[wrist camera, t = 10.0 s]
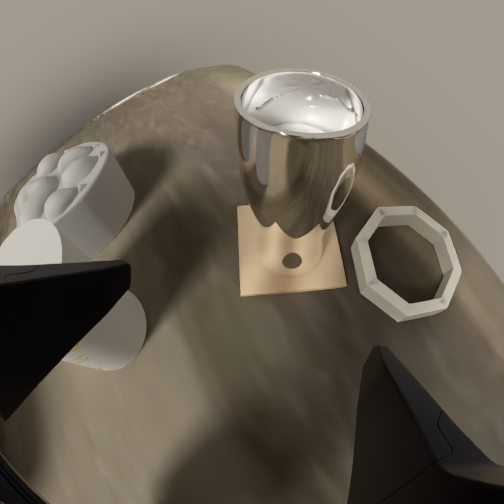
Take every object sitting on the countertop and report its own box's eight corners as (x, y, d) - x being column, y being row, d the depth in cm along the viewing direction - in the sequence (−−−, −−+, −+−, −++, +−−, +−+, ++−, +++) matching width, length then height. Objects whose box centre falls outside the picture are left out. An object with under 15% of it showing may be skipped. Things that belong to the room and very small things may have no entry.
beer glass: (266, 294, 23) (261, 158, 10) (239, 226, 26) (213, 79, 13) (340, 265, 24) (404, 127, 10) (307, 204, 27) (326, 61, 13)
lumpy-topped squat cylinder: (44, 226, 29) (5, 187, 21) (118, 167, 32) (91, 117, 24) (60, 285, 25) (8, 248, 17) (150, 214, 28) (117, 156, 20)
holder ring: (366, 327, 21) (373, 322, 20) (343, 219, 26) (348, 208, 24) (458, 308, 21) (470, 302, 19) (429, 216, 26) (437, 205, 24)
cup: (66, 351, 22) (-27, 315, 11) (92, 278, 25) (15, 213, 14) (131, 383, 20) (32, 368, 10) (157, 298, 24) (83, 227, 13)
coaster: (241, 296, 23) (240, 295, 23) (237, 208, 28) (237, 206, 27) (345, 287, 23) (347, 285, 23) (327, 202, 27) (328, 200, 27)
